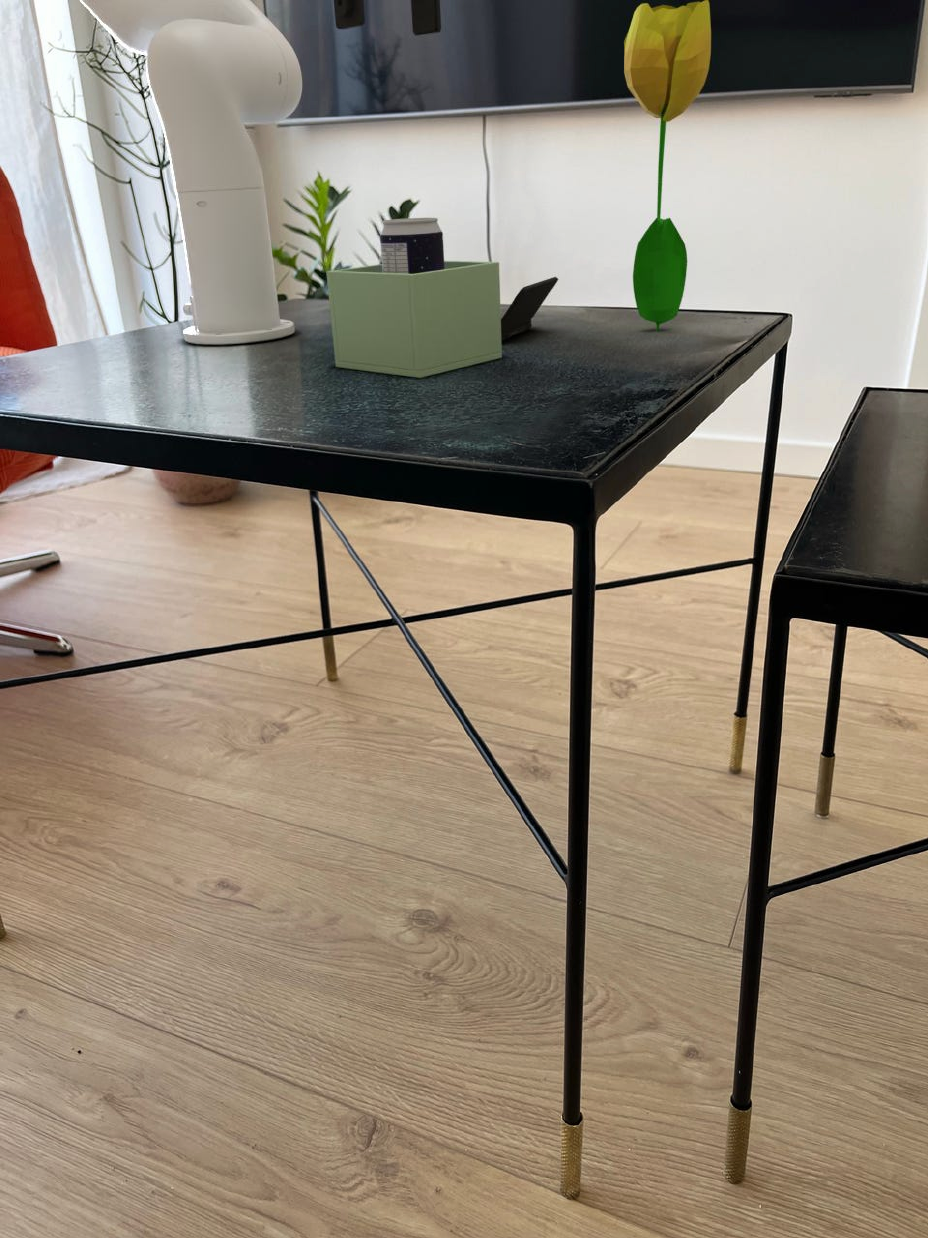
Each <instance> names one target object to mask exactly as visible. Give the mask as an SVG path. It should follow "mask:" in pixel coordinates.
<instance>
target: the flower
mask: <svg viewBox="0 0 928 1238" xmlns="http://www.w3.org/2000/svg"><path fill="white" fill-rule="evenodd" d="M711 28H712V27H711V9H710V2H709V0H703V1H700V0H699V1H694V2H689V3H687V4H686V5H680V6H679V7H675V6H672V5H665V4H661V5H658V6H655V7H651V5H650V4H649V3H648V2H647V3H640V5H638V6H637V7H636V9H635V11H634V13H633V17H632V20H631V23H630V27H629V29H628V31H627V33H626V36H625V38H624V41H623V44H624V45H623V47H624V57H623V59H624V61H623V62H624V65H623V66H624V67H623V68H624V70H623V73H624V78H625V81H626V86H627V88H628V90H629V91H630V93H631V94H632V95H633V96H634V98H635V99H636V100H637V102H638V103H639V105H640V106H641V108H642V109H643V110H644V112H645V113H646V114H648V115H650V116H652V117H653V118H655V119H660V121H659V123H660V127H659V144H658V145H659V146H658V147H659V148H658V164H657V165H658V167H657V168H658V169H657V203H656V205H657V207H656V208H657V209H656V210H657V211H656V218H655V219H654V220H653V221H652V223H651V224H650V225H649V227H647V229H646V231H645V232H644V233H643V235H642V236H641V238H640V240H639V241H638V242H637V246H636V249H635V255H634V262H633V270H632V284H633V285H632V287H633V296H634V300H635V304H636V308H637V311H638V314H639V316H640V317H641V318H642V319H644V320H645V321H647V322H651V323H654V324H655V331H660V325H662V324H665V323H667V322H669V321H671V320H673V319H675V318H676V317H677V316H678V313H679V310H680V307H681V304H682V302H683V301H682V300H683V297H684V291H685V286H686V280H687V271H688V270H687V269H688V253H687V246H686V243H685V242H684V240H683V238H682V236H681V233H679V231H678V230H677V227H676V226H675V224H674V222H673V221H672V219H671V217H668V218H661V214H662V195H663V194H662V193H663V177H664V176H663V174H664V158H665V144H666V132H667V123H669V122H671V121H673V120H675V119H676V118H678V117H680V116H681V115H682V114H683V113H684V112H685V111H687V109H689V106H690V105H692V103H693V102H695V100H696V98H697V97H698V96H699V94H700V92H701V90H702V89H703V87H704V85H705V83H706V81H707V76H708V73H709V70H710V63H711V62H710V61H711V55H712V54H711V53H712V51H711V50H712V29H711Z"/></svg>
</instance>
